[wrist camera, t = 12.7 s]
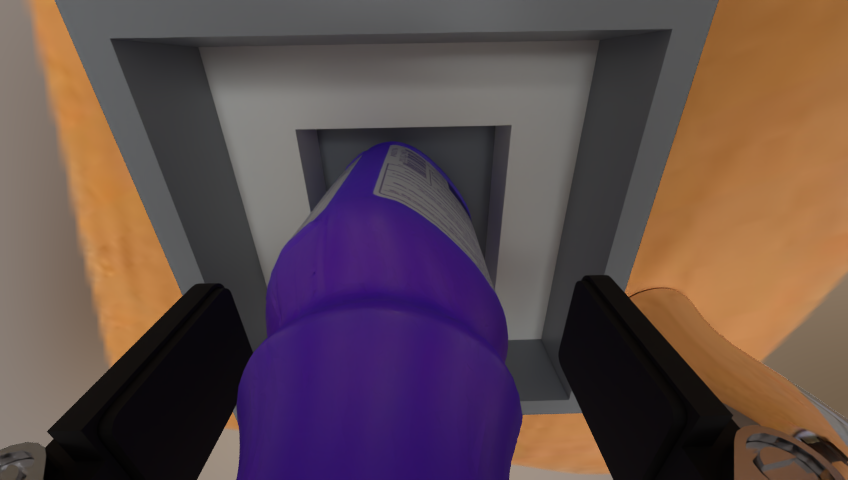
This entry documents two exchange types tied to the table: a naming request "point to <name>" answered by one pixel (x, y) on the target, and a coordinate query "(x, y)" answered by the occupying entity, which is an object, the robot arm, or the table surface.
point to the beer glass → (745, 378)
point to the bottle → (381, 339)
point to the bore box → (400, 132)
